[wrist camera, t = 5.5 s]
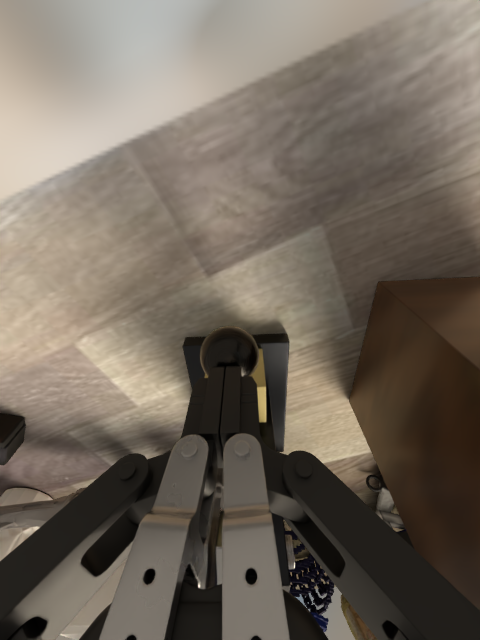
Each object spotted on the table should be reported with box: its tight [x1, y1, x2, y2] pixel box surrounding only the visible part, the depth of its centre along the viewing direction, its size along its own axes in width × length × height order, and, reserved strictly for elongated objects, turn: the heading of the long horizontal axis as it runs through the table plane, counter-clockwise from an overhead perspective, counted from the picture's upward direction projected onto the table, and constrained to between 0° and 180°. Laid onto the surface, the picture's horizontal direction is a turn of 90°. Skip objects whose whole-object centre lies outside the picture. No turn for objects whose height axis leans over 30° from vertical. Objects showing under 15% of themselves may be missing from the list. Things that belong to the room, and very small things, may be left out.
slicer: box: [183, 334, 295, 592], centre depth 18 cm, size 14×8×13 cm, turn 3°
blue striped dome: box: [215, 518, 334, 632], centre depth 35 cm, size 20×20×14 cm
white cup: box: [0, 488, 53, 561], centre depth 30 cm, size 8×8×10 cm
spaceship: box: [0, 468, 224, 530], centre depth 26 cm, size 8×35×8 cm
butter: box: [205, 349, 266, 422], centre depth 19 cm, size 4×4×5 cm
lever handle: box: [200, 326, 259, 585], centre depth 14 cm, size 14×3×3 cm, turn 3°
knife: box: [366, 474, 394, 513], centre depth 30 cm, size 19×2×5 cm
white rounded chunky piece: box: [60, 557, 155, 640], centre depth 42 cm, size 18×18×16 cm
